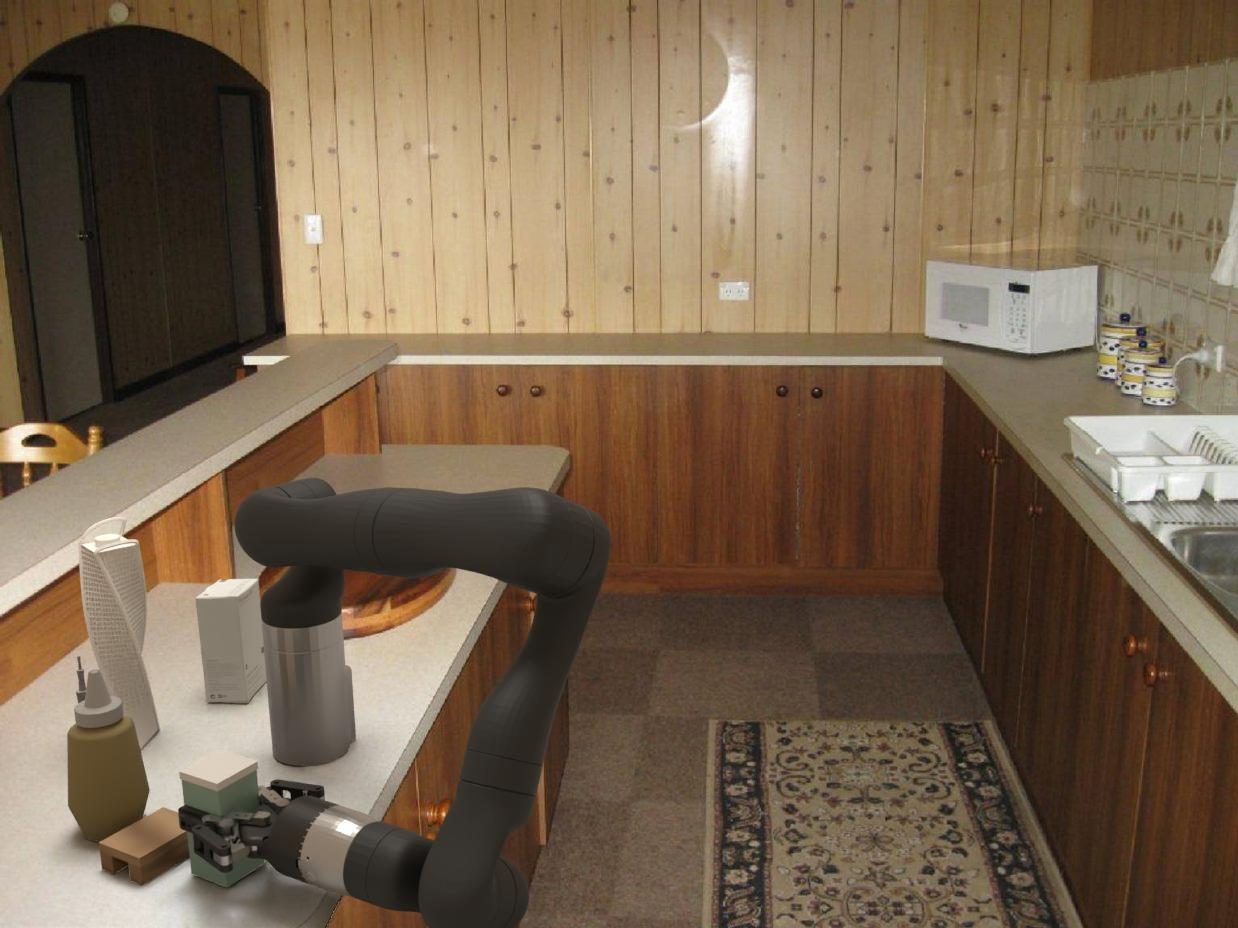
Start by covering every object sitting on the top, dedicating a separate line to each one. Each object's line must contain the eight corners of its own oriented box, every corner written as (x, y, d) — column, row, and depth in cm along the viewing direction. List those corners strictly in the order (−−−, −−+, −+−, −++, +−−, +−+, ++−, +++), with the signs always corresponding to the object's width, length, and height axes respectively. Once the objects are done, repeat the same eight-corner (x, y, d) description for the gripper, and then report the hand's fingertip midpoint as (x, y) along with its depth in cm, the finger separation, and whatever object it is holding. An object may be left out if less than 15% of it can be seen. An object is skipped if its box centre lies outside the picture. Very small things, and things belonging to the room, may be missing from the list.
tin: (229, 849, 128) (220, 749, 125) (266, 862, 125) (257, 761, 123) (189, 873, 124) (179, 771, 121) (227, 888, 121) (216, 783, 118)
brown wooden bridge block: (165, 832, 132) (163, 807, 131) (205, 847, 129) (203, 821, 128) (101, 869, 125) (98, 842, 124) (142, 885, 122) (139, 858, 121)
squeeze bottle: (72, 855, 128) (51, 693, 123) (71, 819, 135) (52, 664, 130) (155, 838, 131) (138, 679, 126) (150, 803, 138) (133, 651, 134)
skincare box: (248, 704, 163) (238, 597, 159) (203, 703, 163) (193, 597, 160) (269, 678, 171) (261, 576, 168) (227, 678, 171) (217, 575, 168)
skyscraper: (111, 726, 158) (86, 514, 151) (173, 727, 157) (151, 514, 151) (79, 757, 150) (52, 534, 143) (145, 758, 149) (120, 535, 143)
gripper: (379, 777, 121) (253, 739, 129) (272, 846, 109) (140, 800, 117) (384, 846, 123) (259, 804, 131) (278, 921, 111) (148, 871, 119)
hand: (204, 802), depth 124 cm, fingers closed on tin, 5 cm apart
